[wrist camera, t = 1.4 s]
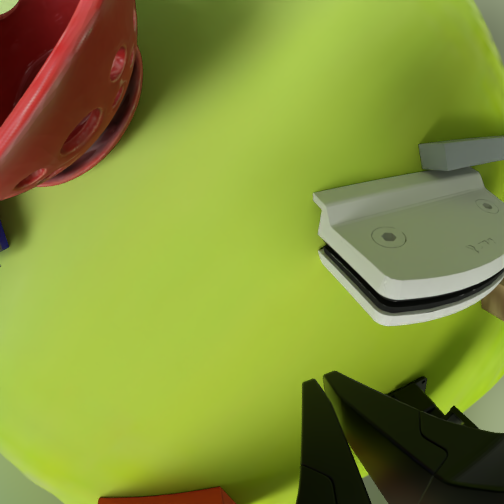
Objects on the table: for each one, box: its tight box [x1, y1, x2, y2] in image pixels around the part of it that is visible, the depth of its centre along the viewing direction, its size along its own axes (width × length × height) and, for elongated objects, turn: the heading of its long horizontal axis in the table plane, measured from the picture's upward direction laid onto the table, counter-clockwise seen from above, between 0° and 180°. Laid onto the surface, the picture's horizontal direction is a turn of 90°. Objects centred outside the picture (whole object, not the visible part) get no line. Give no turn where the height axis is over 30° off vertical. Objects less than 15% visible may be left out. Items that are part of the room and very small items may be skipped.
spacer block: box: [481, 278, 504, 321], centre depth 24 cm, size 5×5×4 cm
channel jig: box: [418, 136, 504, 171], centre depth 20 cm, size 11×16×4 cm
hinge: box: [313, 167, 504, 326], centre depth 18 cm, size 17×5×10 cm, turn 102°
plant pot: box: [0, 0, 143, 201], centre depth 9 cm, size 13×13×12 cm
